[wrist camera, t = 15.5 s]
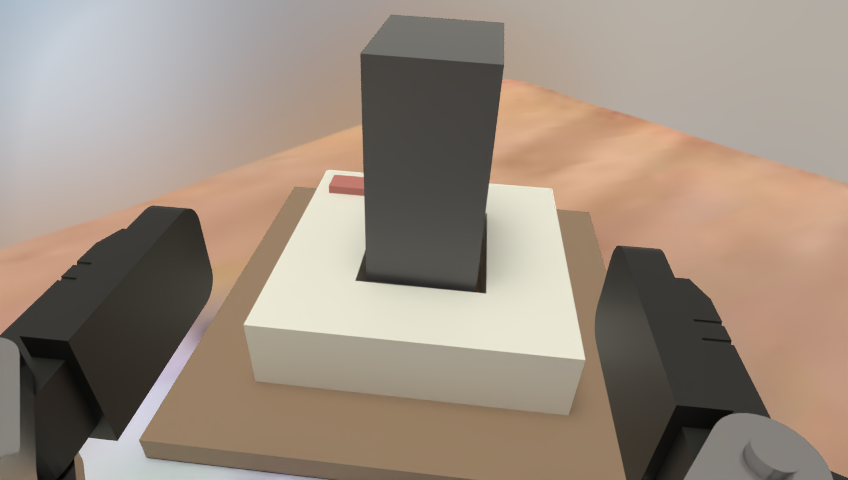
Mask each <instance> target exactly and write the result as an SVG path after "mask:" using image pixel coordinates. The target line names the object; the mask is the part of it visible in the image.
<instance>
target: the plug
mask: <svg viewBox="0 0 848 480" xmlns="http://www.w3.org/2000/svg"><path fill="white" fill-rule="evenodd" d="M503 68H504V23H498V22H485V21H471V20H470V21H469V20H456V19H443V18H428V17H414V16H401V15H390V17H389V18H388V19H387V21H386V22H385V23H384V24H383V26H382V27H381V28H380V30H379V31H378V32H377V33H376V34H375V36H374V37H373V38H372V40H371V41H370V42H369V43H368V45H367V46H366V47H365V49H364V50H363V51H362V52H361V91H362V129H363V167H364V205H365V243H366V281H375V282H379V283H382V284H393V285H403V286H413V287H424V288H434V289H444V290H455V291H465V292H476V284H477V276H478V268H479V260H480V252H481V244H482V236H483V228H484V220H485V212H486V204H487V196H488V188H489V180H490V172H491V164H492V156H493V148H494V140H495V132H496V124H497V116H498V108H499V100H500V92H501V84H502V76H503Z"/></svg>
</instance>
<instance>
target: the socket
mask: <svg viewBox="0 0 848 480" xmlns="http://www.w3.org/2000/svg"><path fill="white" fill-rule="evenodd" d="M606 274H607V273H606V269H605V266H604V263H603V259H602V256H601V252H600V249H599V245H598V242H597V238H596V235H595V231H594V228H593V224H592V221H591V217H590V214H589V212H580V211H568V210H557V209H556V206H555V201H554V196H553V190H552V189H550V188H538V187H526V186H514V185H502V184H491V183H489V188H488V196H487V204H486V212H485V220H484V228H483V236H482V244H481V252H480V260H479V268H478V276H477V284H476V292H465V291H455V290H444V289H434V288H424V287H413V286H403V285H393V284H382V283H379V282H375V281H366V243H365V205H364V173H361V172H349V171H337V170H327V171H326V173H325V175H324V177H323V179H322V180H321V182H320V184H319V186H318V188H317V189H315V188H303V187H294V189H293V190H292V192H291V194H290V195H289V197H288V198H287V200H286V202H285V203H284V205H283V207H282V208H281V210H280V212H279V213H278V215H277V216H276V218H275V220H274V221H273V223H272V225H271V226H270V228H269V229H268V231H267V233H266V234H265V236H264V238H263V239H262V241H261V242H260V244H259V246H258V247H257V249H256V251H255V252H254V254H253V255H252V257H251V259H250V260H249V262H248V264H247V265H246V267H245V269H244V270H243V272H242V273H241V275H240V277H239V278H238V280H237V282H236V283H235V285H234V286H233V288H232V290H231V291H230V293H229V295H228V296H227V298H226V299H225V301H224V303H223V304H222V306H221V308H220V309H219V311H218V312H217V314H216V316H215V317H214V319H213V321H212V322H211V324H210V326H209V327H208V329H207V330H206V332H205V334H204V335H203V337H202V339H201V340H200V342H199V343H198V345H197V347H196V348H195V350H194V352H193V353H192V355H191V356H190V358H189V360H188V361H187V363H186V365H185V366H184V368H183V369H182V371H181V373H180V374H179V376H178V378H177V379H176V381H175V382H174V384H173V386H172V387H171V389H170V391H169V392H168V394H167V396H166V397H165V399H164V400H163V402H162V404H161V405H160V407H159V409H158V410H157V412H156V413H155V415H154V417H153V418H152V420H151V422H150V423H149V425H148V426H147V428H146V430H145V431H144V433H143V435H142V436H141V438H140V439H139V441H140V443H141V446H142V448H143V450H144V453H145V455H146V457H149V458H158V459H166V460H174V461H183V462H191V463H199V464H208V465H216V466H225V467H233V468H241V469H250V470H258V471H267V472H275V473H283V474H292V475H300V476H308V477H317V478H325V479H334V480H626V477H625V472H624V467H623V463H622V458H621V454H620V449H619V445H618V440H617V436H616V431H615V427H614V422H613V418H612V413H611V408H610V404H609V399H608V395H607V390H606V386H605V381H604V377H603V372H602V368H601V363H600V358H599V354H598V349H597V345H596V340H595V314H596V309H597V305H598V302H599V298H600V295H601V291H602V288H603V284H604V281H605V278H606Z"/></svg>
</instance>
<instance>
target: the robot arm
mask: <svg viewBox="0 0 848 480" xmlns="http://www.w3.org/2000/svg"><path fill="white" fill-rule="evenodd" d="M61 277H62V279H61V281H59V280H57V281H56V282H55V283H54V284H53V285H52V286H51V287H50V288H49V289H48V290H47V291H46V292H45V293H44V294H43V295H42V296H41V297H40V298H38V299H37V300H36V301H35V302H34V303H33V304H32V305H31V306H30V307H29V308H28V309H27V310H26V311H25V312H24V313H23V314H22V315H21V316H20V317H19V318H18V319H17V320H16V321H15V322H14V323H12V324H11V325H10V326H9V327H8V328H7V329H6V330H5V331H4V332H3V333H2V334H1V335H0V480H85V475H84V465H83V460H82V458H81V456H80V454H79V450H80V449H81V448H82V446H83V445H84V443H85V442H86V440H87V439H88V438H97V439H106V440H115V441H118V439H119V438H120V436H121V434H122V433H123V431H124V430H125V428H126V427H127V425H128V424H129V422H130V421H131V419H132V417H133V416H134V414H135V413H136V411H137V410H138V408H139V407H140V405H141V404H142V402H143V400H144V399H145V397H146V396H147V394H148V393H149V391H150V390H151V388H152V387H153V385H154V383H155V382H156V380H157V379H158V377H159V376H160V374H161V373H162V371H163V370H164V368H165V366H166V365H167V363H168V362H169V360H170V359H171V357H172V356H173V354H174V353H175V351H176V349H177V348H178V346H179V345H180V343H181V342H182V340H183V339H184V337H185V336H186V334H187V332H188V331H189V329H190V328H191V326H192V325H193V323H194V322H195V320H196V319H197V317H198V315H199V314H200V312H201V311H202V309H203V308H204V306H205V305H206V303H207V301H208V299H209V297H210V294H211V290H212V283H213V275H212V269H211V265H210V261H209V257H208V253H207V249H206V245H205V241H204V237H203V233H202V229H201V225H200V221H199V218H198V216H197V214H196V212H195V211H194V210H192V209H187V208H175V207H163V206H150V207H148V208H147V209H146V210H145V211H144V212H143V213H142V214H141V215H140V216H139V217H138V218H137V219H136V220H135V221H134V222H133V223H132V224H131V225H130V226H129V227H128V228H127V229H121V230H119V231H117V232H116V233H114V234H112V235H110V236H108V237H106V238H105V239H103V240H101V241H99V242H97V243H96V244H95V245H94V246H93V247H92V248H91V249H89V250H88V251H87V252H86V253H85V254H84V255H83V256H82V257H81V258H80V259H79V260H78V261H77V265H73V266H72V267H71V268H70V269H69V270H68V271H67V272H66V273H64V274H63V275H62V276H61ZM595 340H596V345H597V349H598V354H599V358H600V363H601V368H602V372H603V377H604V381H605V386H606V390H607V395H608V399H609V404H610V408H611V413H612V418H613V422H614V427H615V431H616V436H617V440H618V445H619V449H620V454H621V458H622V463H623V467H624V472H625V477H626V480H848V478H847V477H844V476H841V475H839V474H837V473H834V472H832V471H830V469H829V467H828V465H827V464H826V462H825V460H824V459H823V458H822V456H821V455H820V454H819V452H818V451H817V450H816V449H815V448H814V447H813V446H812V445H811V444H810V443H809V442H808V441H807V440H806V439H805V438H803V437H802V436H801V435H799V434H798V433H797V432H795V431H794V430H792V429H790V428H789V427H787V426H786V425H784V424H781V423H779V422H777V421H775V420H773V419H771V418H770V416H769V414H768V412H767V410H766V408H765V406H764V404H763V402H762V400H761V398H760V396H759V394H758V392H757V390H756V388H755V386H754V384H753V382H752V380H751V378H750V376H749V374H748V372H747V370H746V368H745V366H744V364H743V362H742V360H741V358H740V356H739V354H738V352H737V350H736V348H735V347H734V345H731V339H730V337H729V335H728V333H727V331H726V329H725V327H724V326H722V321H721V319H720V317H719V315H718V313H717V311H716V309H715V307H714V305H713V303H712V301H711V299H710V298H709V297H708V296H707V295H706V294H705V293H703V292H702V291H701V290H700V289H699V288H698V287H697V286H696V285H695V284H694V283H693V282H692V281H691V280H690V279H684V278H675V277H674V275H673V272H672V270H671V268H670V266H669V263H668V261H667V259H666V257H665V254H664V253H663V251H662V250H660V249H654V248H642V247H630V246H617V247H616V248H615V250H614V252H613V254H612V257H611V260H610V264H609V267H608V271H607V274H606V278H605V281H604V284H603V288H602V291H601V295H600V298H599V302H598V305H597V309H596V314H595Z"/></svg>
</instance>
